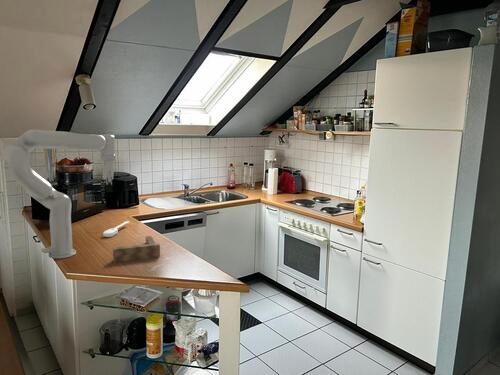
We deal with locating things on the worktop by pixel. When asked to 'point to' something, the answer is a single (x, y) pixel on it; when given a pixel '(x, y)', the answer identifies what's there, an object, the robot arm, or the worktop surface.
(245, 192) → the worktop surface
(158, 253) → the brown angled block
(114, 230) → the white toy guitar
